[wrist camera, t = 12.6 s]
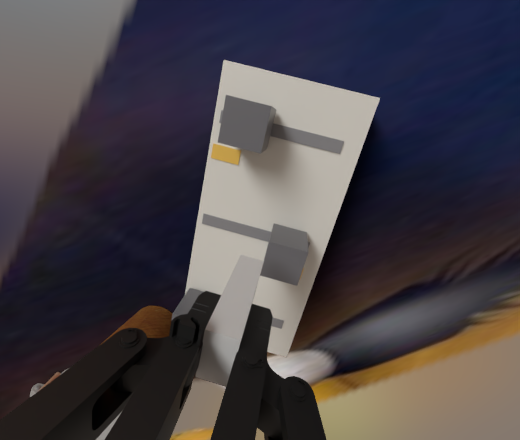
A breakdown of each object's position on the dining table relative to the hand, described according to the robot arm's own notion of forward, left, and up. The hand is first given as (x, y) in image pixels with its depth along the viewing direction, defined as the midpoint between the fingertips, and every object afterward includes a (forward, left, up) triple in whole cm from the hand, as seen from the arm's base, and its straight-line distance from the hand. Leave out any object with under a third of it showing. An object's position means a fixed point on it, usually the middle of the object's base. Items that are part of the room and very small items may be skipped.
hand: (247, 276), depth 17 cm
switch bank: (0, 0, -12) cm, 12 cm away
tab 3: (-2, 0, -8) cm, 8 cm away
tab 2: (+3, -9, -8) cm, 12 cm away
